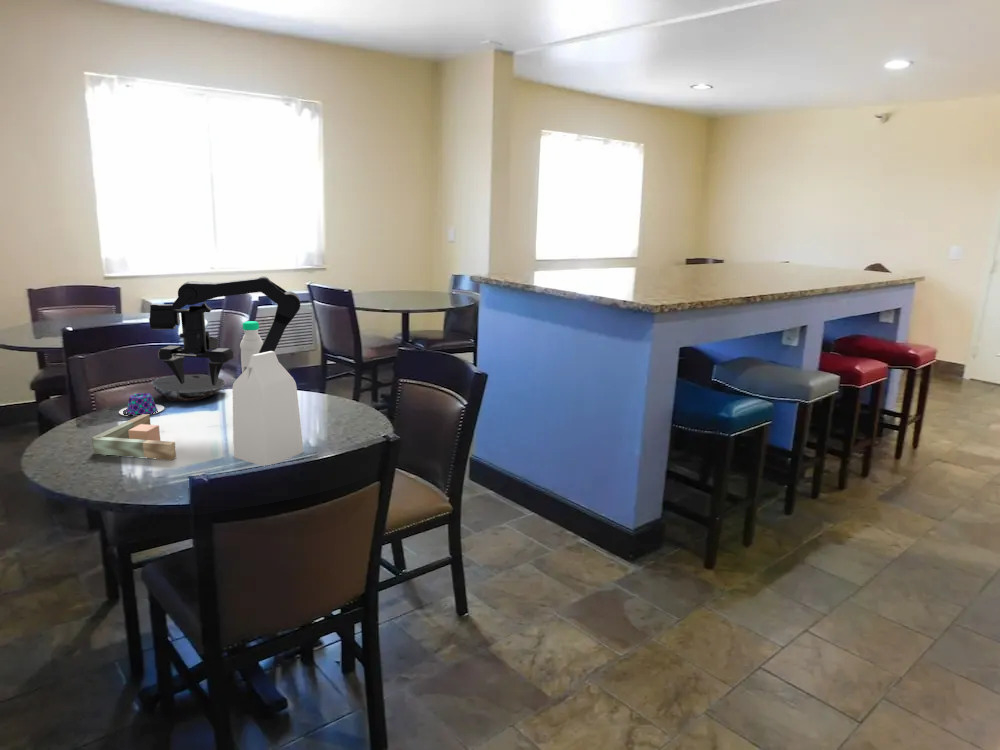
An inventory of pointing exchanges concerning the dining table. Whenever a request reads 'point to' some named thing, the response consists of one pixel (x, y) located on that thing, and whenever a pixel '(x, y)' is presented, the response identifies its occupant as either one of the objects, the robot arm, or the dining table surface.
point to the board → (187, 387)
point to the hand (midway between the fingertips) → (198, 384)
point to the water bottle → (250, 342)
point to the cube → (145, 432)
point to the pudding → (141, 405)
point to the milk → (266, 412)
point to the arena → (132, 442)
